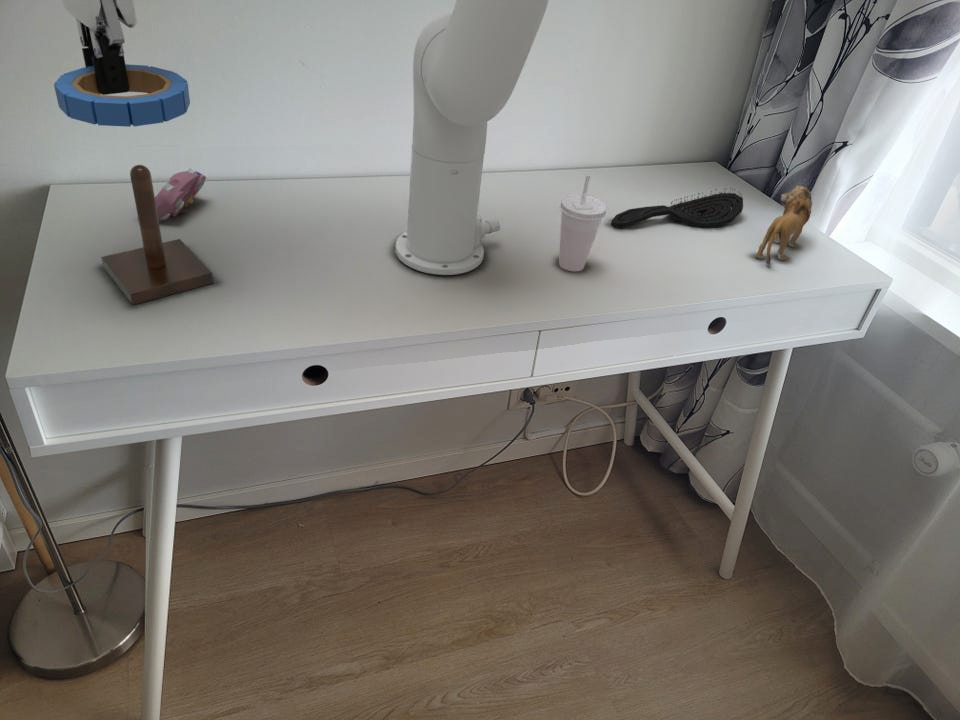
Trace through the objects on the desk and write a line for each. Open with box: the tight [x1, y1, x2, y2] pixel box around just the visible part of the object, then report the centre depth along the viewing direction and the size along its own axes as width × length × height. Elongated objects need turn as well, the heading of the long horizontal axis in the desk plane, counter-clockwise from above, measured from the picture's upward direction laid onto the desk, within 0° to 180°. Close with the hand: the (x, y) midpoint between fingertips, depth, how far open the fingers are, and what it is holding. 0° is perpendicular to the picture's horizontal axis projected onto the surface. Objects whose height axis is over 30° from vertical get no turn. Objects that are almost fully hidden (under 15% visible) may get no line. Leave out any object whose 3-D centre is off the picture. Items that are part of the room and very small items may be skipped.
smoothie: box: [558, 174, 607, 272], centre depth 104 cm, size 6×6×14 cm
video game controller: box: [155, 167, 207, 220], centre depth 107 cm, size 10×5×7 cm, turn 168°
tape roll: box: [53, 63, 191, 128], centre depth 81 cm, size 13×13×2 cm
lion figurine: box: [754, 185, 813, 265], centre depth 117 cm, size 15×5×9 cm, turn 151°
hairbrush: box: [610, 187, 744, 229], centre depth 123 cm, size 8×4×25 cm
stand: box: [101, 164, 214, 306], centre depth 90 cm, size 10×10×15 cm
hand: (109, 86), depth 84 cm, fingers closed on tape roll, 2 cm apart
